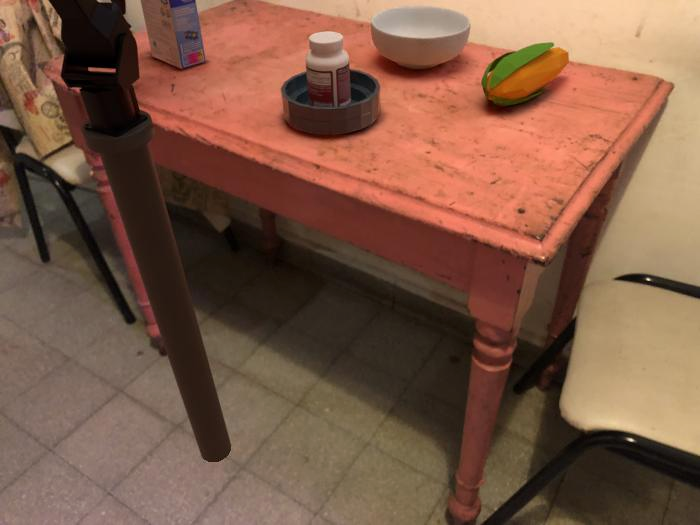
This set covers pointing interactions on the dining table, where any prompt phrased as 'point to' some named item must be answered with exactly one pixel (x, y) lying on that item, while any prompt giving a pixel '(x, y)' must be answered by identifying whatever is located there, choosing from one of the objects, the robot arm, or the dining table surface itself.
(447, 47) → the cereal bowl
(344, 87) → the pill bottle
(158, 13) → the ink cartridge box
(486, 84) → the corn
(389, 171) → the dining table surface
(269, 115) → the dining table surface
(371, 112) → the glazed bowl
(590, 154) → the dining table surface
